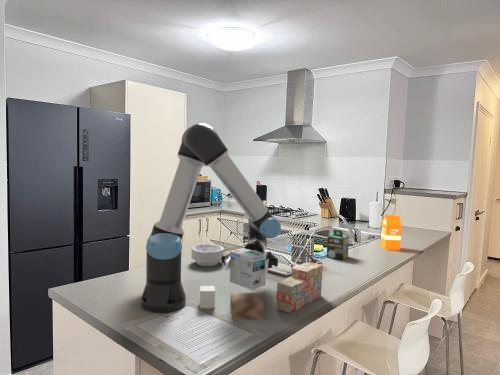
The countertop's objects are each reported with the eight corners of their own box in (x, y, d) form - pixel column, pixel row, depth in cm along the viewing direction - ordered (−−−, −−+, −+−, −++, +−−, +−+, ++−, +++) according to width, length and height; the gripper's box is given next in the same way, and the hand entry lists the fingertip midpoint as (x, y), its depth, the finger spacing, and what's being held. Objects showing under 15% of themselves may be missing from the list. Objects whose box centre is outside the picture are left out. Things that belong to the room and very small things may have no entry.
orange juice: (400, 250, 211) (402, 216, 209) (385, 249, 211) (387, 216, 209) (394, 246, 218) (397, 214, 217) (380, 246, 219) (382, 214, 217)
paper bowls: (215, 270, 162) (215, 253, 162) (185, 265, 167) (185, 249, 166) (227, 261, 177) (228, 245, 176) (200, 257, 182) (200, 242, 181)
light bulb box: (266, 285, 117) (267, 253, 116) (252, 290, 112) (252, 257, 111) (242, 277, 125) (243, 247, 124) (228, 282, 120) (229, 250, 119)
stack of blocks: (290, 313, 120) (292, 277, 118) (275, 308, 123) (276, 273, 122) (321, 296, 136) (322, 264, 135) (306, 291, 140) (308, 260, 139)
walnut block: (231, 320, 114) (232, 305, 113) (230, 307, 124) (230, 293, 123) (262, 319, 115) (263, 304, 114) (258, 306, 125) (259, 292, 124)
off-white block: (199, 308, 121) (200, 291, 121) (200, 302, 126) (200, 285, 126) (214, 308, 122) (215, 291, 121) (214, 302, 127) (214, 285, 126)
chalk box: (348, 256, 193) (349, 229, 192) (342, 260, 185) (344, 232, 184) (331, 253, 198) (333, 227, 196) (325, 257, 190) (327, 229, 189)
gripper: (223, 239, 137) (209, 254, 116) (286, 242, 134) (284, 258, 112) (222, 258, 138) (208, 276, 116) (286, 262, 134) (283, 281, 113)
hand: (246, 267), depth 114 cm, fingers closed on light bulb box, 12 cm apart
